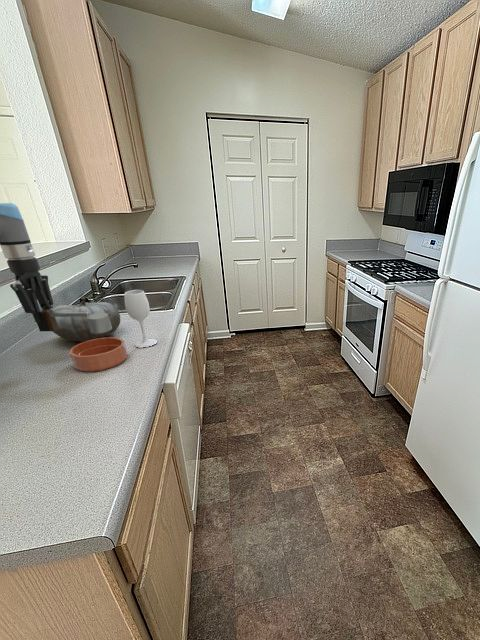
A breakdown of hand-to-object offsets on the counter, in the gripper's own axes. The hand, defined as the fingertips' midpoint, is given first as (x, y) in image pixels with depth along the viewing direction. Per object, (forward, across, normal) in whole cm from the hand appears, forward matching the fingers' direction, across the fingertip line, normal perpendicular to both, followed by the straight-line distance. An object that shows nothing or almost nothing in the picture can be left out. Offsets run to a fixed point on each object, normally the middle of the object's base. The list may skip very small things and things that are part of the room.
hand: (48, 329), depth 113 cm
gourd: (+13, +23, +3) cm, 26 cm away
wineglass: (+13, +16, -24) cm, 32 cm away
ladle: (0, 0, -10) cm, 10 cm away
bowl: (+13, 0, -15) cm, 20 cm away
